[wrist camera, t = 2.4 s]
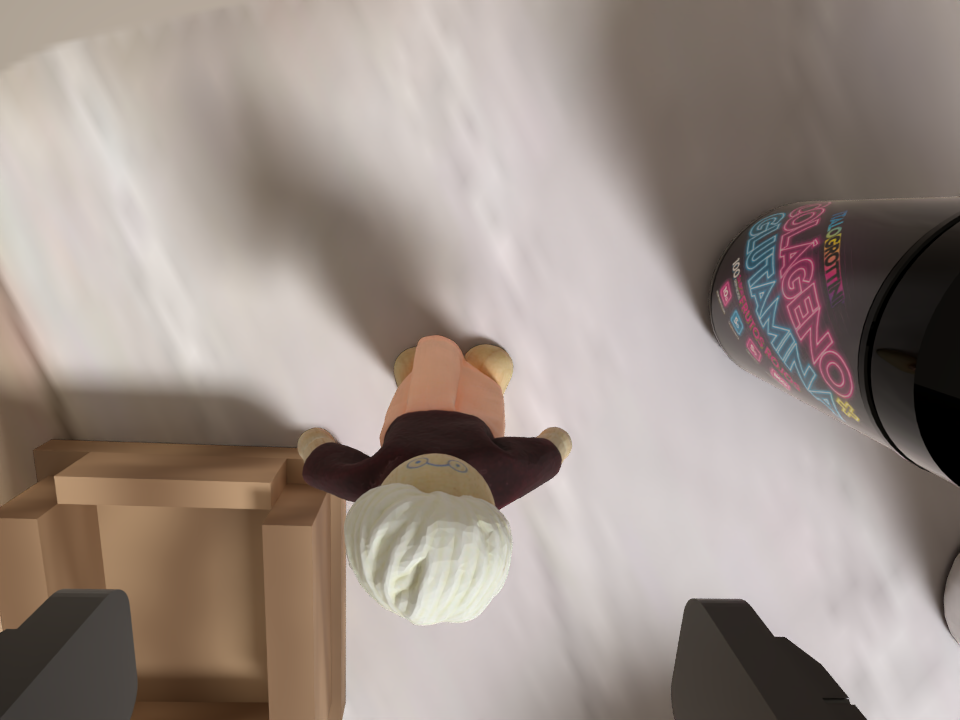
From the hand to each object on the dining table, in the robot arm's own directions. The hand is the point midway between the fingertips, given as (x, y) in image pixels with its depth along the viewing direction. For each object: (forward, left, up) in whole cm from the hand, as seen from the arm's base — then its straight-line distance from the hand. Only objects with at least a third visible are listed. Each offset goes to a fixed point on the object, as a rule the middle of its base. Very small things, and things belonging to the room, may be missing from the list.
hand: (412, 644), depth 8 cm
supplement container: (-13, -4, -14) cm, 20 cm away
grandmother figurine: (0, 0, -14) cm, 14 cm away
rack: (+9, +9, -14) cm, 19 cm away
